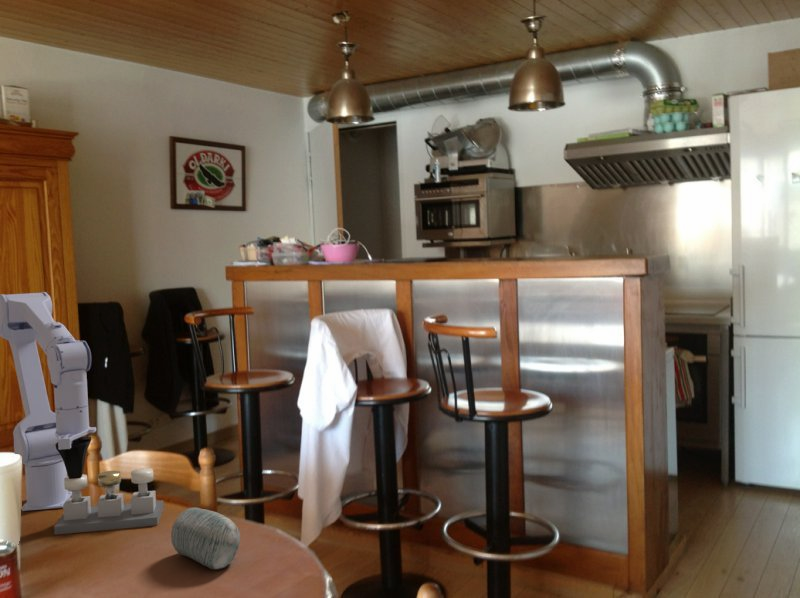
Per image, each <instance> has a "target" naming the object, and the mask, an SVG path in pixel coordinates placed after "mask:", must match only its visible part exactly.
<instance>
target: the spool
mask: <svg viewBox="0 0 800 598" xmlns="http://www.w3.org/2000/svg"><path fill="white" fill-rule="evenodd" d="M171 528H172V529H171V534H170V537H171V539H170V540H171V545H172V547H173V549H174V550H175V551H176V553H177V554H178V555H180V556H183V557H185V556H186V557H187V558H189V559H192V560H193V561H195V562H197V563H199V564H201V565H203V566H204V567H207V568H209V569H211V570H216V571H217V570H222V569H224V568H226V567H227V566H229V565H230V564H231V562H233V560H234V559H235V557H236V555H237V554H238V551H239V547H240V544H241V543H240V542H241V533H240V530H239V528H238V525H237V524H236V523H235V522H234V521H233V520H231V519H230V518H229V517H227V516H226V515H223V514H221V513H219V512H216V511H213V510H210V509H205V508H200V507H189V508H186V509H185V510H183V511H182V512H181V513H179V514H178V516H177V518H176V519H175V520H174V522H173V525H172V526H171Z"/></svg>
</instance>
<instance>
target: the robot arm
mask: <svg viewBox="0 0 800 598" xmlns="http://www.w3.org/2000/svg"><path fill="white" fill-rule="evenodd" d="M52 314H53V302H52V298H51V295H49V294H48V292H46V291H41V292H30V293H13V294H12V293H11V294H3V293H2V294H1V293H0V338H2V339H4V340H7V341H8V342H9V346H10V350H11V353H12V358H13V362H14V368H15V372H16V376H17V377H16V378H17V382H18V383H17V384H18V387H19V392H20V397H21V402H22V403H21V404H22V406H23V412H24V417H23V418H22V419H21V420H20V421H19V422H18V423H17V424H16V425H15V427H14V429H13V431H12V435H13V450H14V455H15V454H20V455H21V456H22V464H21V465H24V471H25V489H26V492H25V493H26V502H25V503H24V504H23V506H21V508H22V511H21V512H25V511H26V512H27V511H38V510H39V511H40V510H50V509H61V508H63V504H64V503H65V502H66V500H67V499H68V498H72V490H66V489H65V486H64V478H66V477H69V479H76V478H81V477H82V475H83V474H84V469H85V460H86V457H87V452H88V450H89V446H90V443H91V441H92V436H87V435H89V434H93V433H94V434H95V433H96V432H97V427H96V426H93V427H92V426H90V417H89V416H90V413H89V399H88V398H89V397H88V394H89V393H88V379H87V372H88V371H90V369H91V367H92V352H91V349H90V347H89V345H88V343H87V341H86V340H79V339H78V340H76V339H75V338H74V336H73V335H72V333H71V332H69V330H68V329H67V328H66V326H65V324H63V323H61V322H59V321H55V319H54V318H53V316H52ZM37 344H38V345H39V347H40V348H41V349H42V351H43V352H44V354H45V355H46V363H47V367H48V371H49V376H50V381H51V382H50V383H51V384H52V385H53V394H54V409H55V410H54V412H53V411H52V410H51V406H50V402H49V401H50V400H49V397H48V394H47V393H48V392H47V388H46V384H45V383H46V382H45V378H44V374H43V373H44V372H43V370H42V365H41V364H42V363H41V359H40V355H39V351H38V346H37Z"/></svg>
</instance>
